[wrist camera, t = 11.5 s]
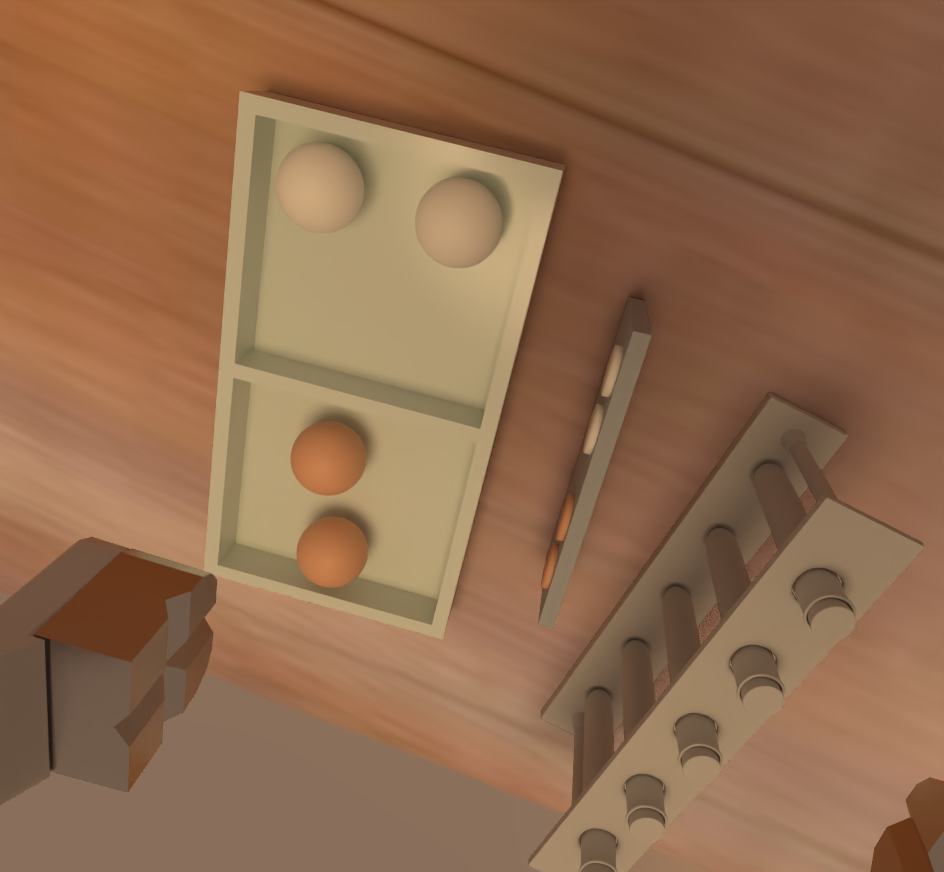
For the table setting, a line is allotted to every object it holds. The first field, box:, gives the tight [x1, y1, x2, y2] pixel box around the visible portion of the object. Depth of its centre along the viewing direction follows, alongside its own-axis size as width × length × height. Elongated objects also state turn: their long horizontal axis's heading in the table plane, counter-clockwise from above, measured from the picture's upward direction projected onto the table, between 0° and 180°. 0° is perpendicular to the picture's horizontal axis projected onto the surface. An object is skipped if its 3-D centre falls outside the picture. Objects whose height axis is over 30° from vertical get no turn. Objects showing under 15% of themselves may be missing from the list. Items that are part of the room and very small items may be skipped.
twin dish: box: [204, 91, 566, 639], centre depth 40 cm, size 15×26×3 cm, turn 168°
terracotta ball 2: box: [296, 516, 368, 588], centre depth 43 cm, size 4×4×4 cm
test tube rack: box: [528, 393, 925, 872], centre depth 38 cm, size 25×4×13 cm, turn 155°
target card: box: [538, 297, 652, 628], centre depth 38 cm, size 1×16×6 cm, turn 168°
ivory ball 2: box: [415, 177, 503, 268], centre depth 35 cm, size 4×4×4 cm
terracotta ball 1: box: [290, 421, 366, 496], centre depth 41 cm, size 4×4×4 cm
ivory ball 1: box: [276, 142, 364, 233], centre depth 35 cm, size 4×4×4 cm
